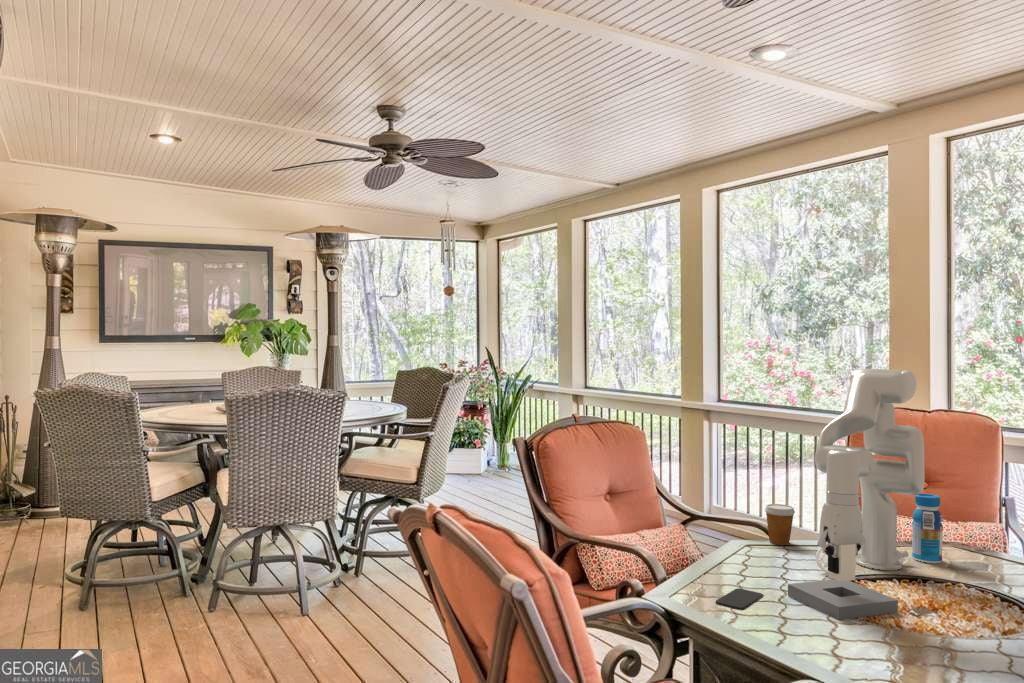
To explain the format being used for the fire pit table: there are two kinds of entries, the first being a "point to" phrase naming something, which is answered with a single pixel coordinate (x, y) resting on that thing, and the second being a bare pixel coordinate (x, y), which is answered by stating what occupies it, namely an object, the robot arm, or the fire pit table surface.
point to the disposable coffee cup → (779, 523)
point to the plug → (845, 563)
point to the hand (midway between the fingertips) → (841, 570)
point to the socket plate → (842, 598)
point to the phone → (739, 599)
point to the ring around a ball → (824, 560)
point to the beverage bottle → (927, 529)
